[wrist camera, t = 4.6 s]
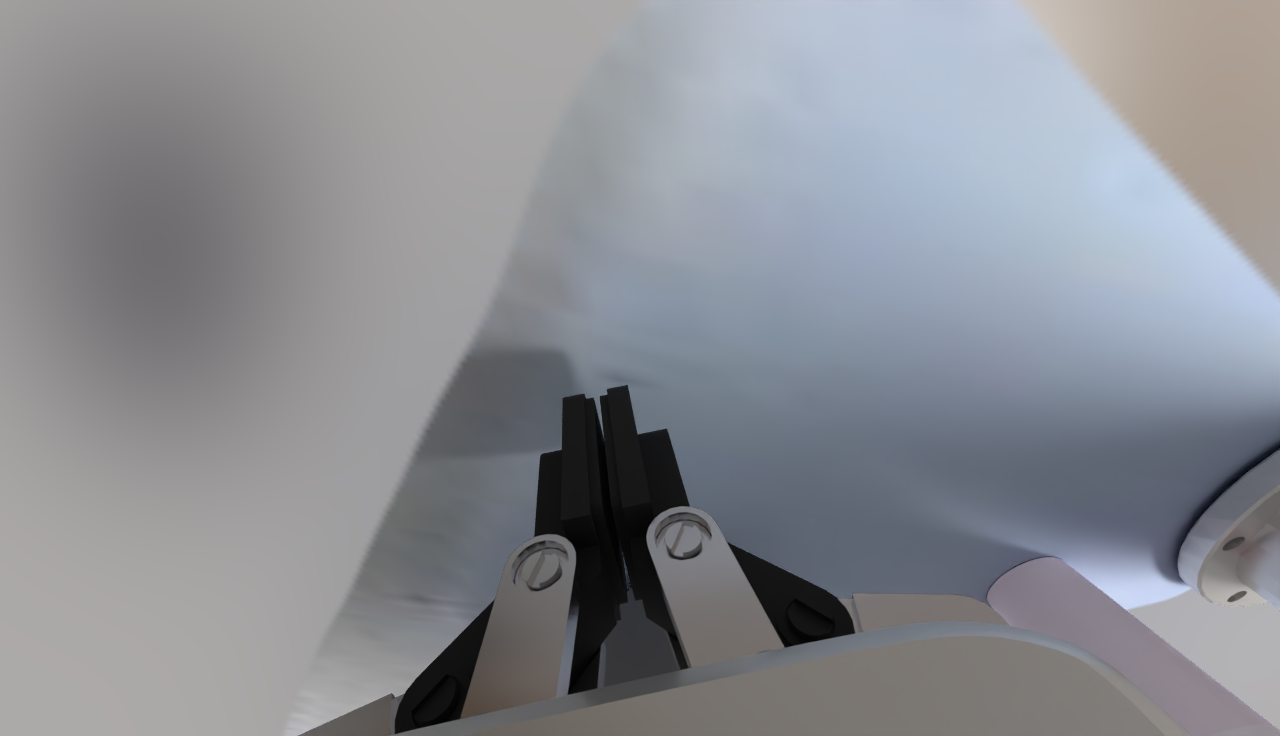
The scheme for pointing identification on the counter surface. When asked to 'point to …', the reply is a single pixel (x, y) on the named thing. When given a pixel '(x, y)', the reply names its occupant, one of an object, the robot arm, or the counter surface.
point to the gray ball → (636, 646)
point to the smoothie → (1121, 646)
